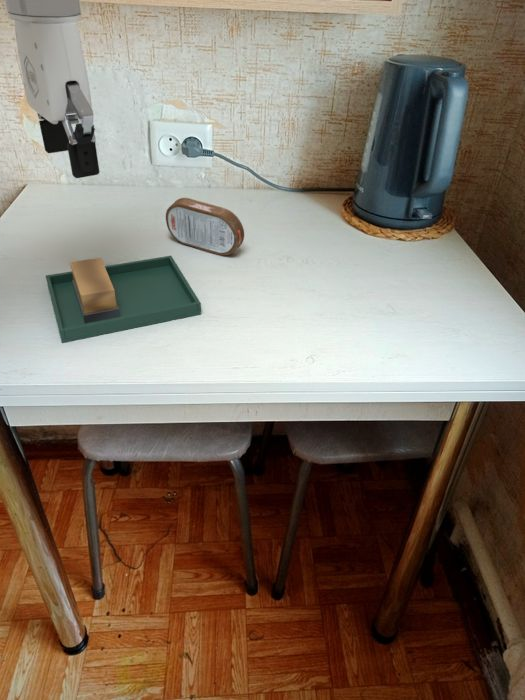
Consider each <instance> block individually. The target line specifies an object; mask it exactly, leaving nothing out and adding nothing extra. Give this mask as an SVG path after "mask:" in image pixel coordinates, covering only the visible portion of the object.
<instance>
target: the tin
mask: <svg viewBox="0 0 525 700" xmlns="http://www.w3.org/2000/svg"><path fill="white" fill-rule="evenodd" d="M165 223H166V227H167V229H168V232H169V234H170V235H171V236H172V237H173V238H174V240H176V241H177V242H178V243H181V244H182V245H185V246H188V247H191V248H195V249H198V250H202V251H204V252H208V253H211V254H215V255H218V256H228V255H231V254H233V253H234V252H235V251H237V249H239V248H240V247H241V246H242V245H243V243H244V240H245V229H244V225H243V224H242V222H241V220H240V219H239V217H238V216H237V215H236V214H235V213H234V212H233V211H231V210H229V209H228V208H225V207H221V206H219V205H215V204H211V203H208V202H204V201H201V200H196V199H193V198H189V197H180V198H178V199H176V200H175V201H174V202H173V203H172V204H171V205H170V206H169V207H168V208H167V210H166V212H165Z"/></svg>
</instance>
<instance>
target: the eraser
mask: <svg viewBox="0 0 525 700" xmlns="http://www.w3.org/2000/svg"><path fill="white" fill-rule="evenodd" d="M69 264H70V270H71V271H72V275H73V280H72V282H73V287H74V291H75V294H76V297H77V300H78V303H79V307H80V310H81V313H82V316H83V319H84V323H85V324H86V323H91V322H96V321H101V320H106V319H111V318H116V317H120V314H119V308H118V306H117V303H116V297H115V290H114V287H113V285H112V283H111V280H110V278H109V276H108V273H107V271H106V268H105V266H106V265H105V264H104V261H103V259H102V257H95V258H88V259H81V260H76V261H70V262H69Z"/></svg>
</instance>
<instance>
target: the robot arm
mask: <svg viewBox="0 0 525 700" xmlns="http://www.w3.org/2000/svg"><path fill="white" fill-rule="evenodd" d="M4 3H5V9H6V13H7V17H8V19H10V20H13V24H14V32H15V39H16V46H17V53H18V54H17V55H18V59H19V65H20V70H21V77H22V82H23V88H24V93H25V99H26V102H27V104H28V106H29V107H30V108H31V109H32V110H33V111H34V112H36V115H37V117H38V123H39V128H40V132H41V138H42V142H43V143H42V144H43V147H44V151H45V152H46V153H47V154H54V153H60V152H61V153H62V152H68V159H69V165H70V170H71V174H72V176H73V178H75V179H82V178H87V177H92V176H97V175H99V174H100V167H99V166H100V165H99V159H98V152H97V151H98V150H97V145H96V140H97V139H96V134H95V131H96V128H95V124H94V110H93V103H92V95H91V89H90V83H89V77H88V72H87V71H88V70H87V66H86V61H85V55H84V51H83V50H84V49H83V46H82V41H81V37H80V31H79V28H78V23H77V22H80V21H82V20H83V14H82V8H81V1H80V0H4ZM73 125H75V126H74V128H73Z"/></svg>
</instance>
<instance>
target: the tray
mask: <svg viewBox="0 0 525 700" xmlns="http://www.w3.org/2000/svg"><path fill="white" fill-rule="evenodd" d="M104 266H105V268H106V271H107V273H108V276H109V278H110V280H111V283H112V285H113V287H114V290H115V297H116V303H117V306H118V308H119V314H120V317H116V318H111V319H106V320H101V321H96V322H91V323H86V324H85V323H84V319H83V316H82V313H81V310H80V307H79V303H78V300H77V297H76V294H75V291H74V287H73V282H72V280H73V275H72V270H71V271H65V272H60V273H59V272H58V273H52V274H47V275H45V281H46V284H47V289H48V292H49V297H50V301H51V304H52V308H53V312H54V317H55V321H56V325H57V329H58V333H59V337H60V340H61V343H62V344H64V343H69V342H73V341H78V340H83V339H87V338H94V337H98V336H103V335H107V334H112V333H117V332H122V331H127V330H132V329H137V328H141V327H146V326H147V327H148V326H151V325H156V324H161V323H165V322H170V321H176V320H180V319H184V318H185V319H186V318H190V317H195V316H199V315H202V303H201V301H200V299H199V297H198V296H197V295H196V292H195V291H194V290H193V288H192V286H191V285H190V284H189V282H188V280H187V279H186V277H185V275H184V274H183V272H182V271H181V269H180V267H179V266H178V264H177V262H176V261H175V259H174V258H173V256H172V255H167V256H160V257H159V256H158V257H152V258H148V259H140V260H134V261H128V262H122V263H115V264H109V265H104Z"/></svg>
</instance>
